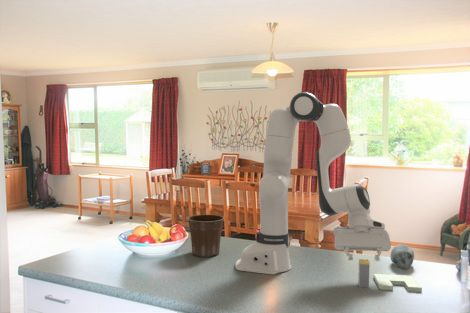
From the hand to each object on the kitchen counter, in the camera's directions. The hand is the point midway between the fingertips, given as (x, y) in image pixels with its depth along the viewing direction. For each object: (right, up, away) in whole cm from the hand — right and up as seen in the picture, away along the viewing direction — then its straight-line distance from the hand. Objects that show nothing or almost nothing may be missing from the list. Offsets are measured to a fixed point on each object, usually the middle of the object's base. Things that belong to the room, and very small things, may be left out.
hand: (363, 260), depth 157 cm
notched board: (+11, -8, -2) cm, 14 cm away
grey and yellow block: (-1, -8, -3) cm, 9 cm away
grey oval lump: (+22, -7, +20) cm, 30 cm away
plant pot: (-60, -6, +35) cm, 70 cm away
